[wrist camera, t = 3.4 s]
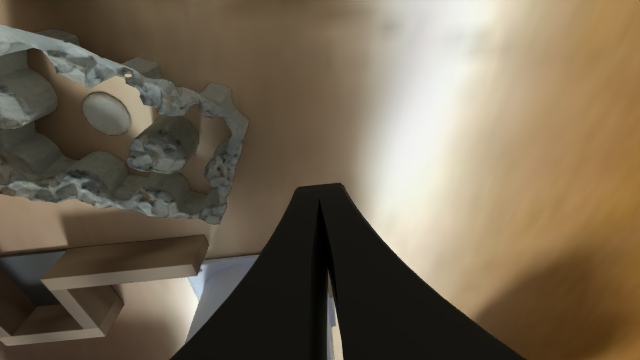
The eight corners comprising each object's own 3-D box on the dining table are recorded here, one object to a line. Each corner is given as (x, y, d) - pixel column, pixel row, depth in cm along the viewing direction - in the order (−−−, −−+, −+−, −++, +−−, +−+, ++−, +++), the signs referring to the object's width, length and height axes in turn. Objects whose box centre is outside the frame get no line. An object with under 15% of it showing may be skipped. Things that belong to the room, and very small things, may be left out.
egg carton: (32, 146, 16) (-42, 187, 13) (25, -3, 13) (-81, -1, 9) (227, 206, 19) (209, 255, 15) (266, 96, 15) (253, 127, 12)
